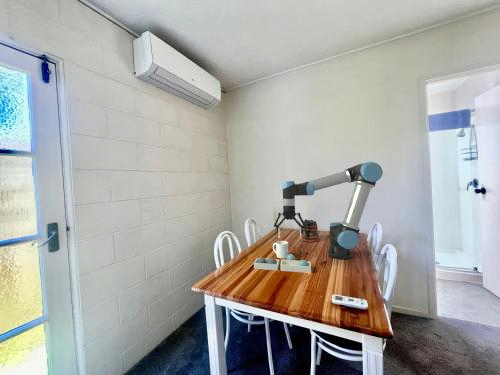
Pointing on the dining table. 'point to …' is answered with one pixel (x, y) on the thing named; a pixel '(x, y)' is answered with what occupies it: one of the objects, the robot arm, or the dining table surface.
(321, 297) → the dining table surface
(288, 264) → the tray cream
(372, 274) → the dining table surface
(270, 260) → the charcoal ball
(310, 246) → the dining table surface
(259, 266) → the tray grey
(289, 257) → the teal ball
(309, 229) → the beer stein
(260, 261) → the charcoal ball
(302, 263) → the teal ball in tray
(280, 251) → the cup
